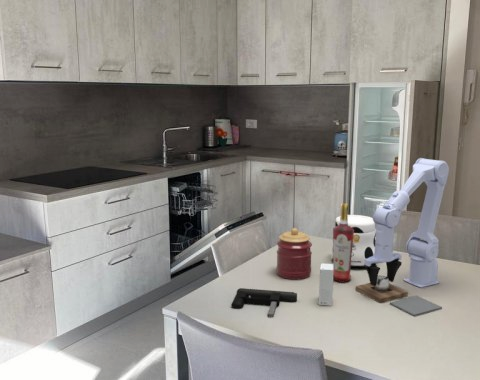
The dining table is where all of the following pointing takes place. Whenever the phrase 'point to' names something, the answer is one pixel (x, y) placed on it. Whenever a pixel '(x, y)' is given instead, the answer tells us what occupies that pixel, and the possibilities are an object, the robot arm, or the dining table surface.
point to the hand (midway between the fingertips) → (381, 282)
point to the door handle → (262, 298)
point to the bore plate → (382, 297)
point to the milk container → (361, 238)
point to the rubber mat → (415, 305)
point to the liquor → (342, 247)
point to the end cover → (382, 284)
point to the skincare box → (326, 284)
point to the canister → (294, 255)
